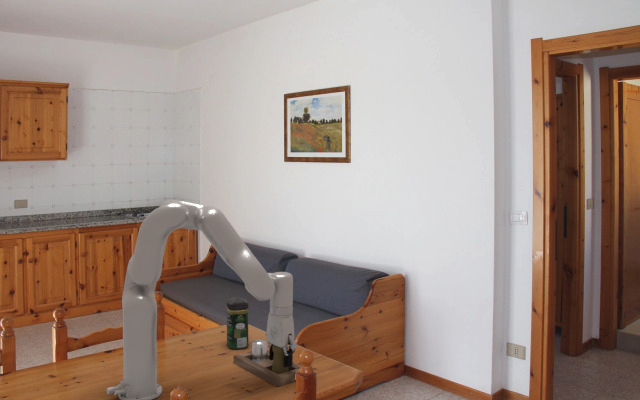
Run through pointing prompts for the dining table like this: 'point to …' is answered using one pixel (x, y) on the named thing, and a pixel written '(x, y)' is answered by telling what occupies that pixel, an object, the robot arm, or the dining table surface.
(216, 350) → the dining table surface
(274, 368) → the olive brown tall piece
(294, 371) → the socket board
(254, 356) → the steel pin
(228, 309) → the coffee jar
